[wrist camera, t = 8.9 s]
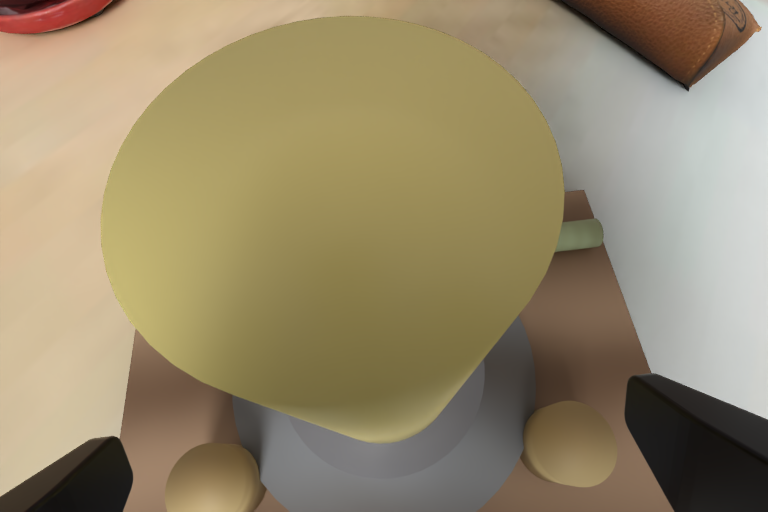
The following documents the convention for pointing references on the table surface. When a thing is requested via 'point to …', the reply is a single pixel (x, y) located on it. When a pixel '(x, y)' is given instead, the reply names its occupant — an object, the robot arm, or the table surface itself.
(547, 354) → the board
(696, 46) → the sunglasses case
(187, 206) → the yellow pillar candle
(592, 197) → the table surface
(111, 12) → the table surface
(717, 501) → the robot arm
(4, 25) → the plant pot
